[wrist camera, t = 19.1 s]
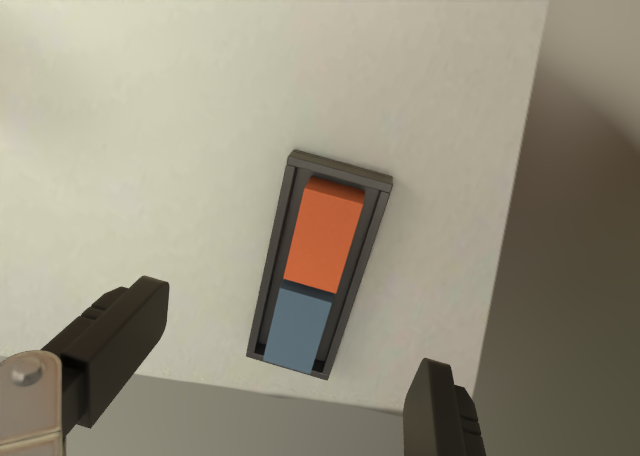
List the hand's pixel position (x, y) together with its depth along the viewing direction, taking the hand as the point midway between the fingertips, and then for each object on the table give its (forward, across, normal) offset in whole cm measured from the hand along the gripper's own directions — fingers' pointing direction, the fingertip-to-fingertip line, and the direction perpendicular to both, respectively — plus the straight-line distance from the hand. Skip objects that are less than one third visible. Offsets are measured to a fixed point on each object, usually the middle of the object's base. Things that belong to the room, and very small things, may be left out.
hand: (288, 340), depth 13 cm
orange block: (+25, +1, +8) cm, 27 cm away
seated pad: (+25, +1, +18) cm, 31 cm away
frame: (+26, +1, +13) cm, 29 cm away
